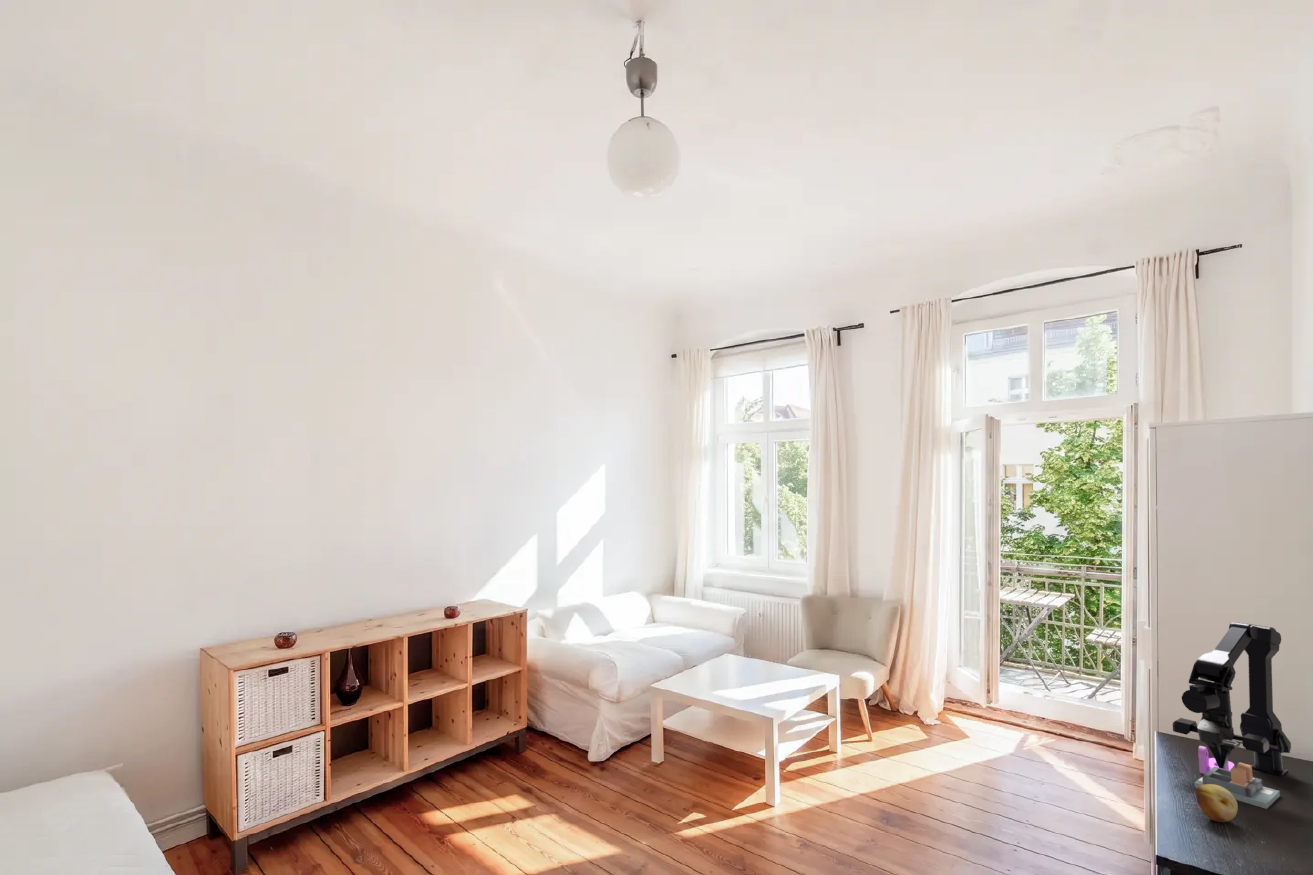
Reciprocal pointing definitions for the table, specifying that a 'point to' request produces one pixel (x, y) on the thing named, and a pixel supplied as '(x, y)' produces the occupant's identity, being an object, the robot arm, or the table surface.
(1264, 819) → the table surface
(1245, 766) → the tab
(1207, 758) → the bracket
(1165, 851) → the table surface
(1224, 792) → the fruit
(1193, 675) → the robot arm
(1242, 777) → the tab
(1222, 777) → the switch plate
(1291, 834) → the table surface
